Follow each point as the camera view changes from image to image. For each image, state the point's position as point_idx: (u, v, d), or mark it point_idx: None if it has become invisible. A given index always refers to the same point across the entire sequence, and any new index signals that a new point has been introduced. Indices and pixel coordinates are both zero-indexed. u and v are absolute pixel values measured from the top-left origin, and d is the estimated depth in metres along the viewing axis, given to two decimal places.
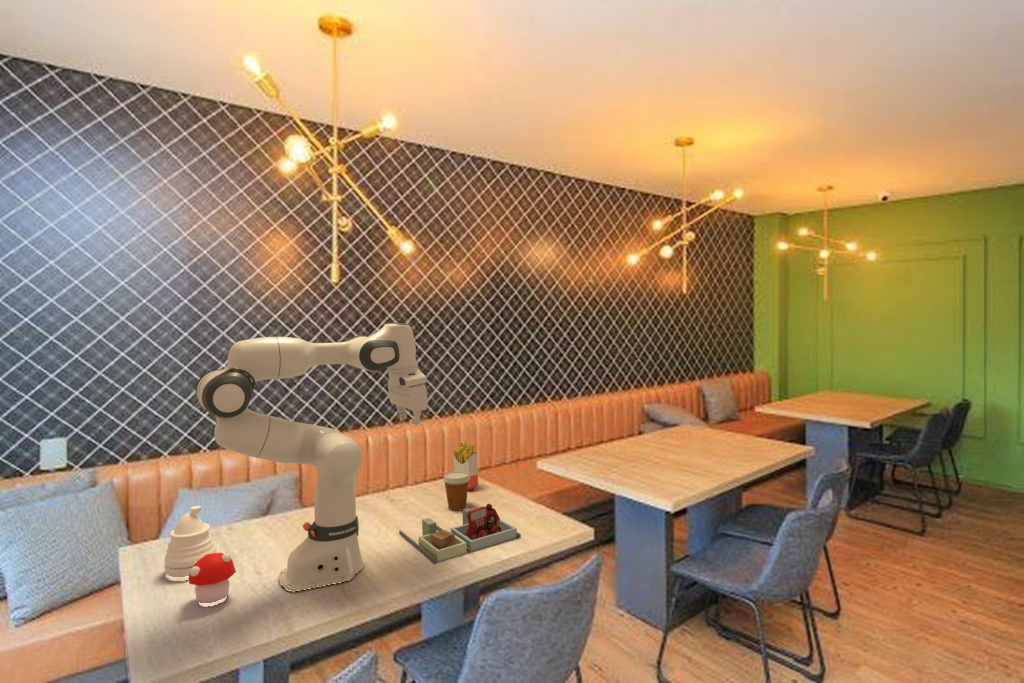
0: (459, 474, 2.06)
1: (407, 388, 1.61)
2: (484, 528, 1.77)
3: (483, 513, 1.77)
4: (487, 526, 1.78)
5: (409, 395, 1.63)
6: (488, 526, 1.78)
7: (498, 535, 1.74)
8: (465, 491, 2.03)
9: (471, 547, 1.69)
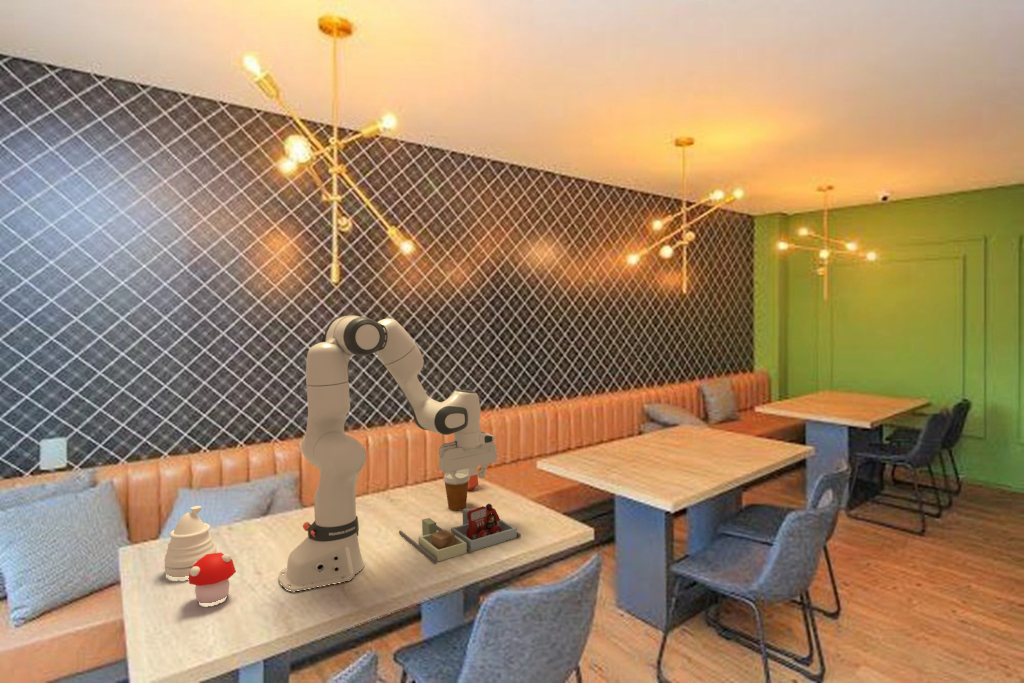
0: (459, 474, 2.06)
1: (491, 443, 1.86)
2: (484, 528, 1.77)
3: (483, 513, 1.77)
4: (487, 526, 1.78)
5: (485, 451, 1.86)
6: (488, 526, 1.78)
7: (498, 535, 1.74)
8: (465, 491, 2.03)
9: (471, 547, 1.69)
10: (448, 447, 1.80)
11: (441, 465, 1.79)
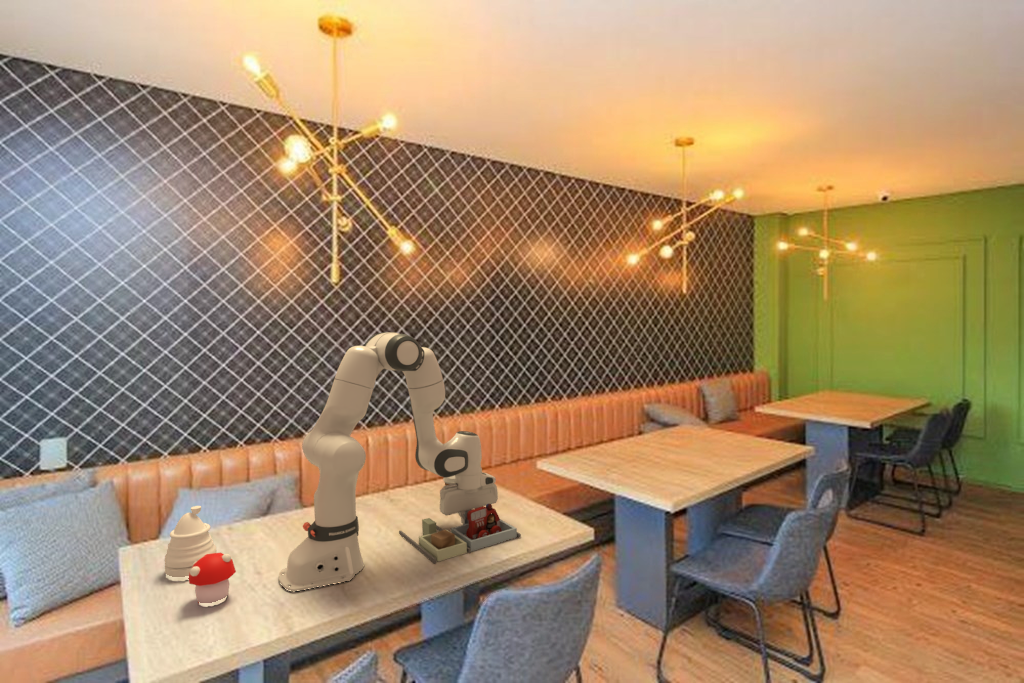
0: None
1: (492, 485, 1.87)
2: (484, 528, 1.77)
3: (483, 513, 1.77)
4: (487, 526, 1.78)
5: (486, 492, 1.87)
6: (488, 526, 1.78)
7: (498, 535, 1.74)
8: None
9: (471, 547, 1.69)
10: (449, 489, 1.80)
11: (441, 507, 1.79)
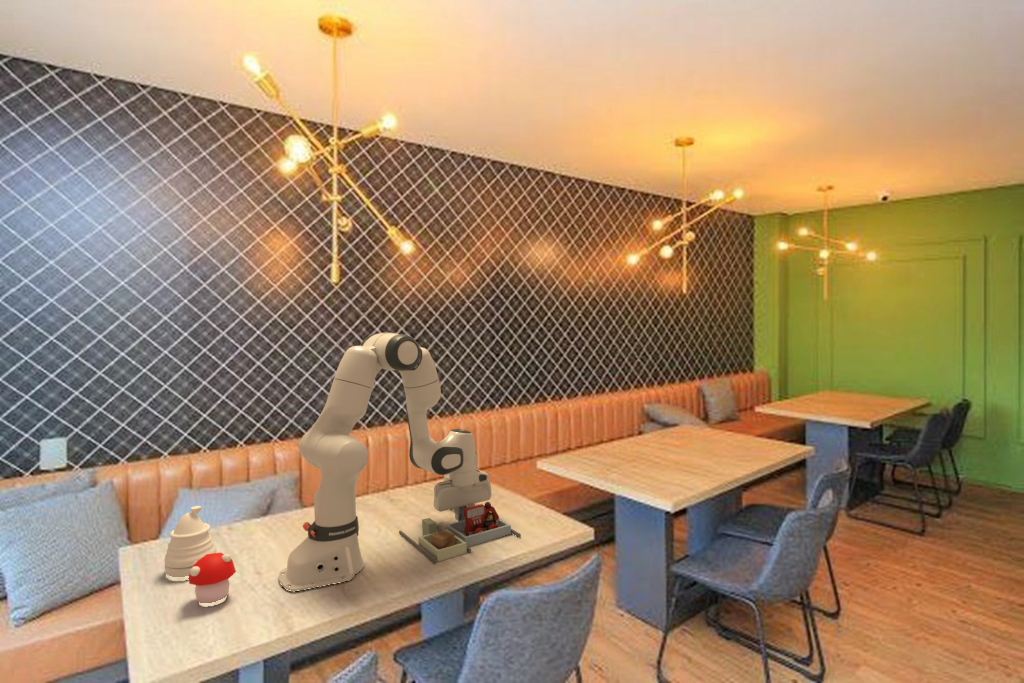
0: None
1: (485, 482, 1.90)
2: (482, 526, 1.79)
3: (481, 511, 1.79)
4: (485, 524, 1.80)
5: (480, 489, 1.90)
6: (486, 524, 1.79)
7: (492, 532, 1.77)
8: None
9: None
10: (443, 486, 1.84)
11: (435, 504, 1.83)
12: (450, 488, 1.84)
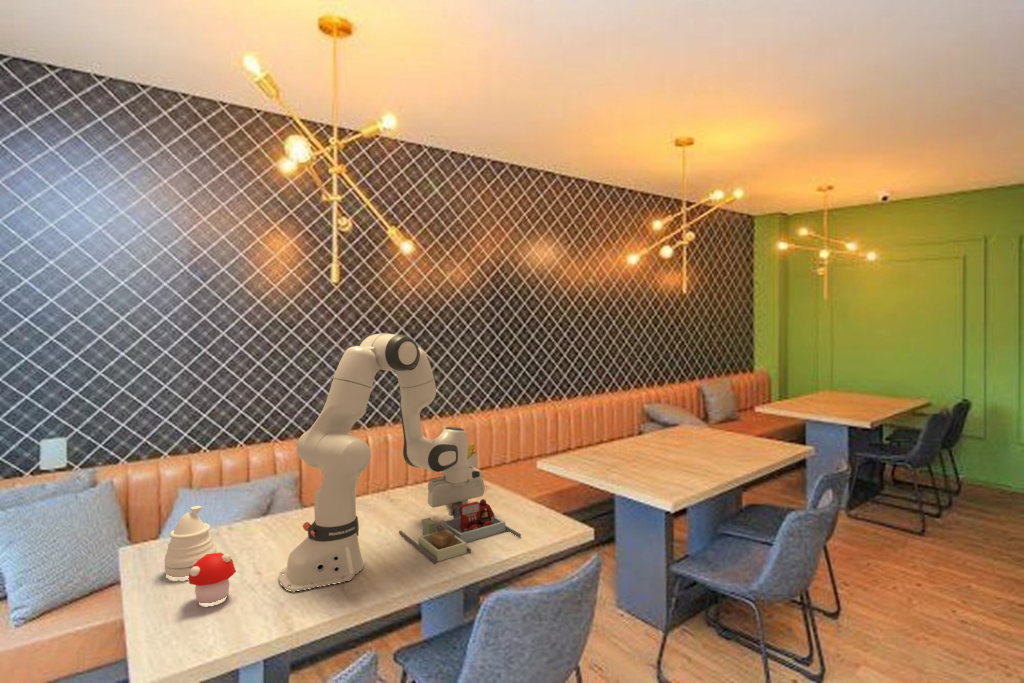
0: None
1: (478, 478, 1.94)
2: (477, 523, 1.81)
3: (476, 508, 1.81)
4: (480, 521, 1.82)
5: (473, 485, 1.94)
6: (481, 521, 1.82)
7: (487, 528, 1.79)
8: None
9: None
10: (437, 482, 1.88)
11: (429, 500, 1.87)
12: (444, 484, 1.88)
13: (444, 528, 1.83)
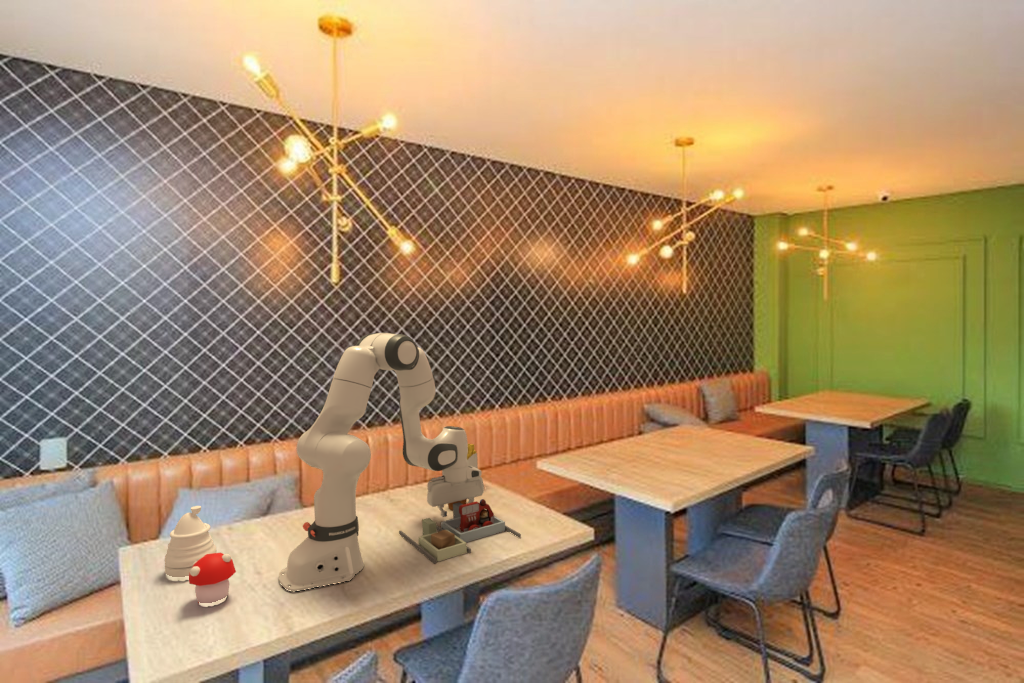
0: None
1: (478, 478, 1.94)
2: (476, 523, 1.81)
3: (476, 508, 1.81)
4: (480, 521, 1.82)
5: (472, 485, 1.94)
6: (481, 521, 1.82)
7: (487, 528, 1.79)
8: None
9: None
10: (436, 482, 1.88)
11: (429, 499, 1.87)
12: (443, 484, 1.88)
13: (444, 528, 1.83)
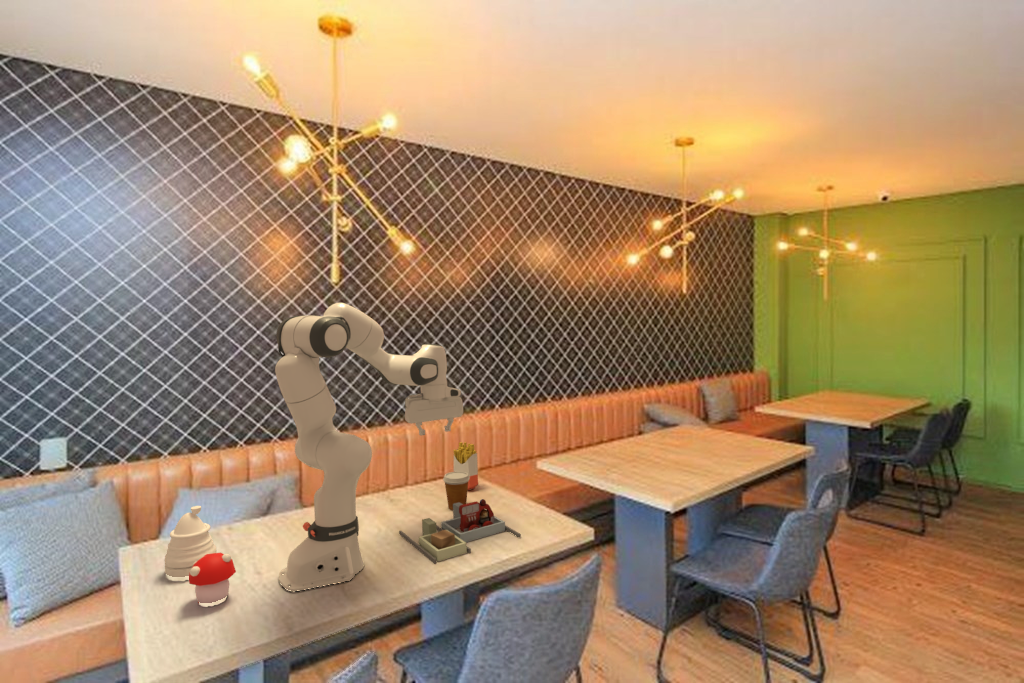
0: (459, 474, 2.06)
1: (457, 397, 1.91)
2: (476, 523, 1.81)
3: (476, 508, 1.81)
4: (480, 521, 1.82)
5: (451, 405, 1.91)
6: (481, 521, 1.82)
7: (487, 528, 1.79)
8: (465, 491, 2.03)
9: None
10: (414, 398, 1.85)
11: (406, 416, 1.84)
12: (421, 401, 1.85)
13: (444, 528, 1.83)
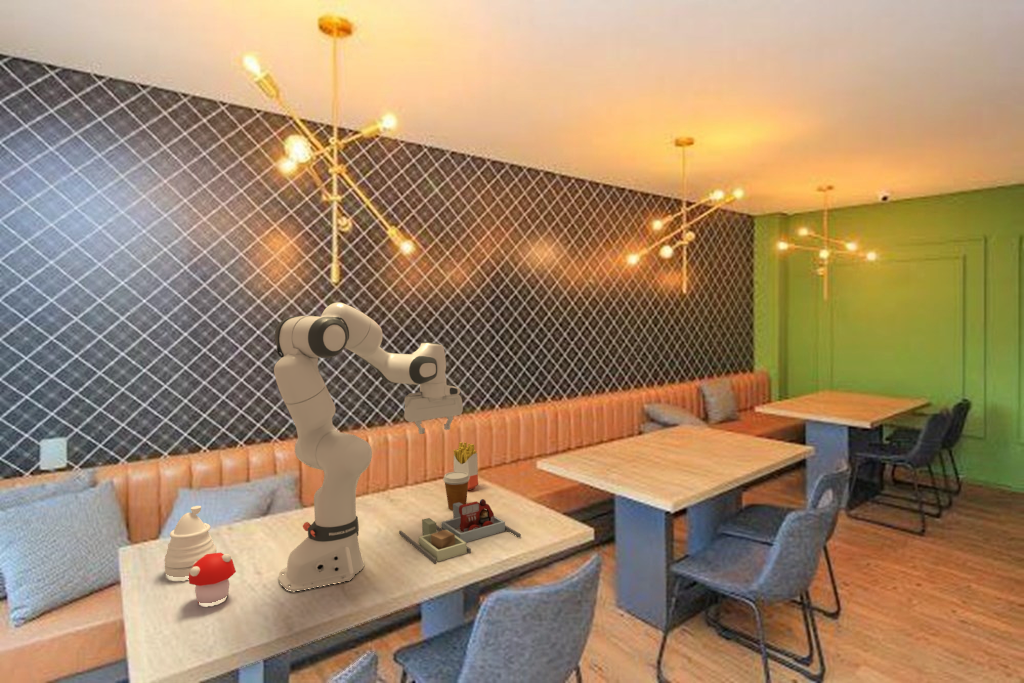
0: (459, 474, 2.06)
1: (457, 396, 1.91)
2: (476, 523, 1.81)
3: (476, 508, 1.81)
4: (480, 521, 1.82)
5: (451, 403, 1.91)
6: (481, 521, 1.82)
7: (487, 528, 1.79)
8: (465, 491, 2.03)
9: None
10: (413, 397, 1.85)
11: (406, 414, 1.84)
12: (420, 399, 1.85)
13: (444, 528, 1.83)
